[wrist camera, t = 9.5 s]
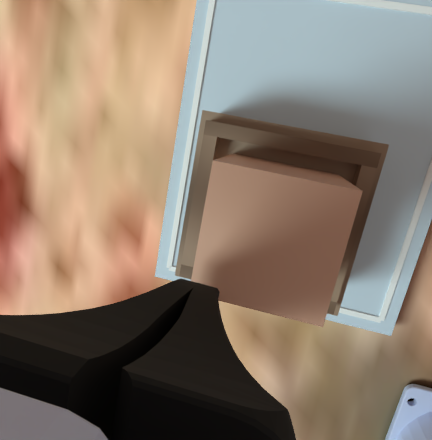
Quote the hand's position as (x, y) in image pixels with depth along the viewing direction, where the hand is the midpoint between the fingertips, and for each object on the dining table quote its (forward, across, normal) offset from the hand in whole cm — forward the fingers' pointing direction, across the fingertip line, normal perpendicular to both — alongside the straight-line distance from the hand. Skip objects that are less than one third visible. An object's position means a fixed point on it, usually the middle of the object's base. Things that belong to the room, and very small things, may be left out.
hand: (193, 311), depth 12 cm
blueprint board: (+10, -3, -5) cm, 12 cm away
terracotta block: (+6, -2, -2) cm, 7 cm away
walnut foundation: (+9, -2, -2) cm, 10 cm away
